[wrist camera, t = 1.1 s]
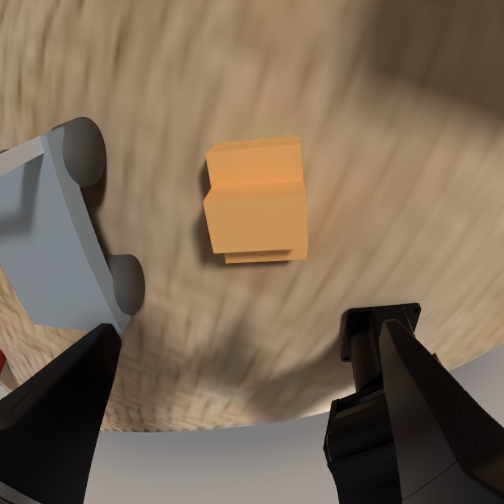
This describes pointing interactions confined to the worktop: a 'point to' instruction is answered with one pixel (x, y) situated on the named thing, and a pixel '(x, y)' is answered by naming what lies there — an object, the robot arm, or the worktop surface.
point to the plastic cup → (2, 360)
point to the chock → (257, 200)
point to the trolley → (62, 233)
